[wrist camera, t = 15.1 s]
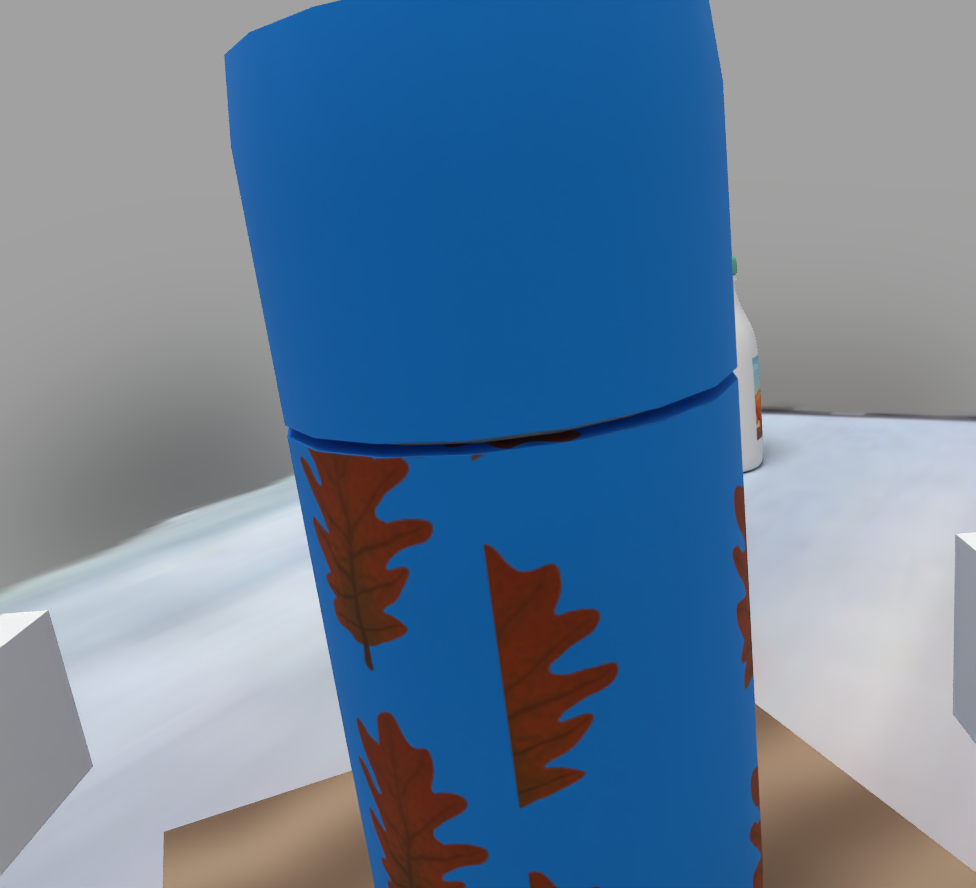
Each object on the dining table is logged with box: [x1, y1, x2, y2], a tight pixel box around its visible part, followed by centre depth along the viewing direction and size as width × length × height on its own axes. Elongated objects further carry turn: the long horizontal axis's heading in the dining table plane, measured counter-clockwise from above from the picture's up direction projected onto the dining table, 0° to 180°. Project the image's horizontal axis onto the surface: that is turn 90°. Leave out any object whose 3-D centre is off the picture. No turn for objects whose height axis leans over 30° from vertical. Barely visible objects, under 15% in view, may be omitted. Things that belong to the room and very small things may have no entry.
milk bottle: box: [732, 257, 763, 472], centre depth 81 cm, size 8×8×20 cm
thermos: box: [224, 0, 763, 888], centre depth 22 cm, size 11×11×25 cm
